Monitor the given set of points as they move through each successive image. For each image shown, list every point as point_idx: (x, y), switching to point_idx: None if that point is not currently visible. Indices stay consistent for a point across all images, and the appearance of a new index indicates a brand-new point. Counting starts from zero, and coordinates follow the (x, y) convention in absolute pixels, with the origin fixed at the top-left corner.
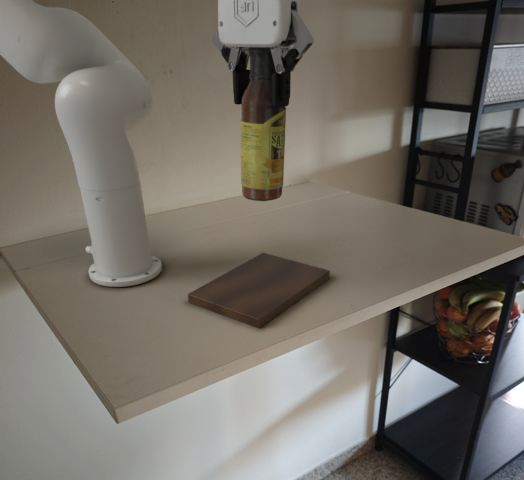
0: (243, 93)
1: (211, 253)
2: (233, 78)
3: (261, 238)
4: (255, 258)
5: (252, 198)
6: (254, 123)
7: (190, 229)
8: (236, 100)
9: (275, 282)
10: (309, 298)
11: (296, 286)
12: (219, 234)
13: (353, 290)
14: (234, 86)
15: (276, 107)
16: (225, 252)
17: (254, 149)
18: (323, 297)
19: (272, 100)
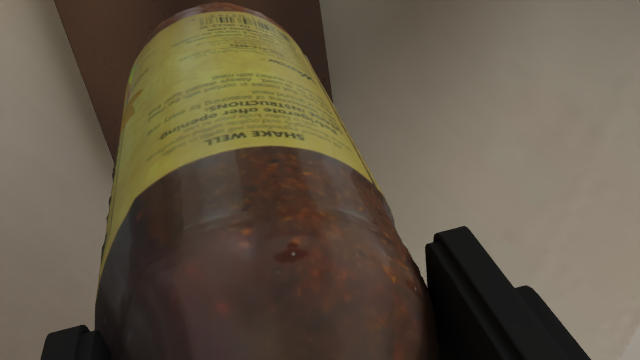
0: (455, 333)
1: (471, 31)
2: (561, 356)
3: (430, 190)
4: (320, 72)
5: (191, 8)
6: (185, 163)
7: (626, 94)
8: (449, 243)
9: (154, 2)
10: (53, 33)
11: (91, 28)
12: (537, 129)
13: (18, 150)
14: (512, 306)
15: (51, 335)
16: (444, 64)
17: (183, 92)
18: (34, 65)
19: (73, 357)
